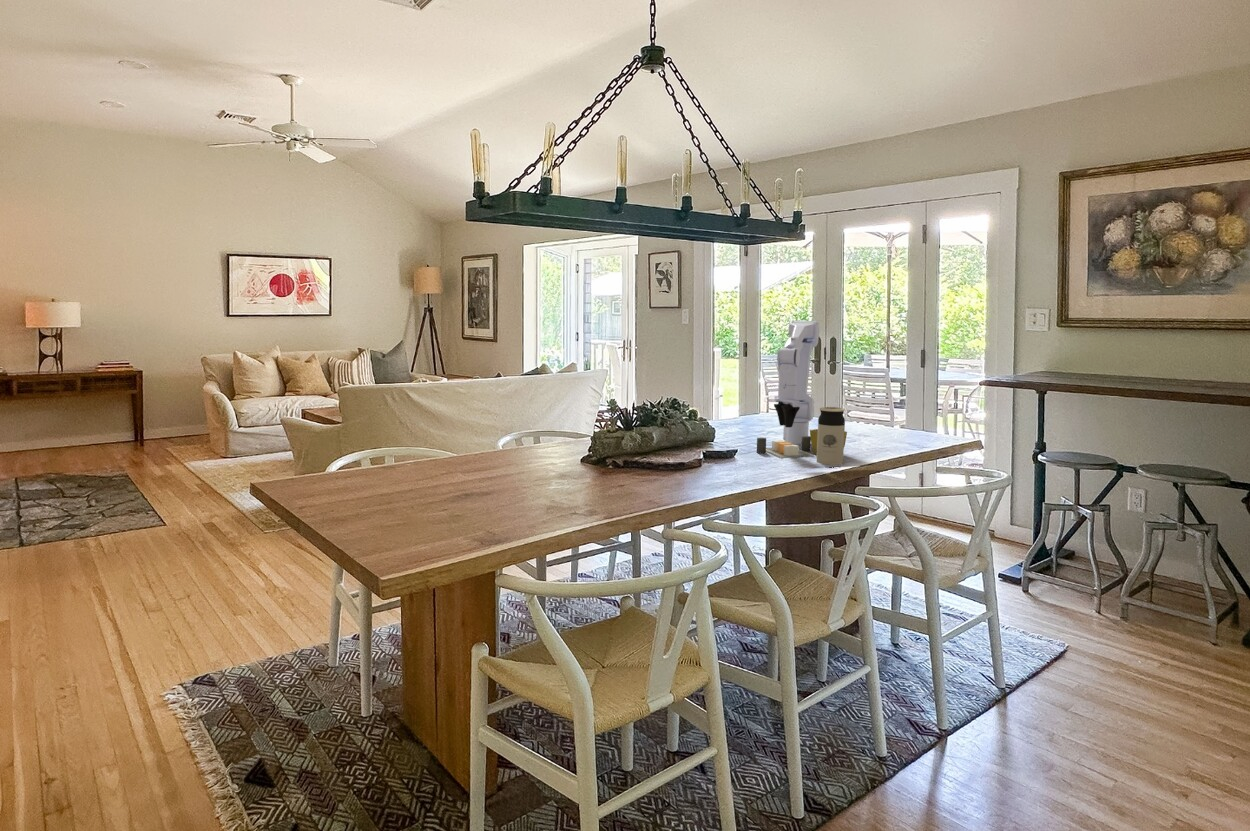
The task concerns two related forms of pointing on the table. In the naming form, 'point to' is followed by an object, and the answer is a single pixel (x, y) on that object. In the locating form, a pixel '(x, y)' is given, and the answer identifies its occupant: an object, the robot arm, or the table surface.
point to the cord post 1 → (761, 445)
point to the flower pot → (815, 435)
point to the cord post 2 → (805, 443)
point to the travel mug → (830, 436)
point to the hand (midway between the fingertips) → (785, 426)
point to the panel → (781, 455)
